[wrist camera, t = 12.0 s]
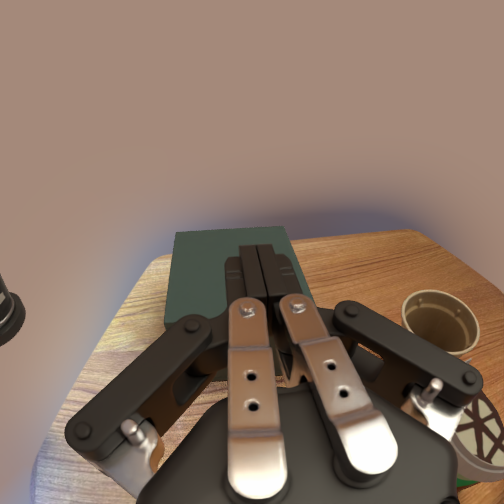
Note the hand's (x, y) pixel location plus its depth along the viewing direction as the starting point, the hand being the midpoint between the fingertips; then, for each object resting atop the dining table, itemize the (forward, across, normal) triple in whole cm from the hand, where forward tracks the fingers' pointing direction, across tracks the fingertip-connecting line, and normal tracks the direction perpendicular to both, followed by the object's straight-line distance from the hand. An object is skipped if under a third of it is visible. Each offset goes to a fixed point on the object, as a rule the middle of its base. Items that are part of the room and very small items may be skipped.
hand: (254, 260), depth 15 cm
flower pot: (+5, +20, -21) cm, 29 cm away
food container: (-7, +16, -21) cm, 27 cm away
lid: (+15, 0, -12) cm, 19 cm away
